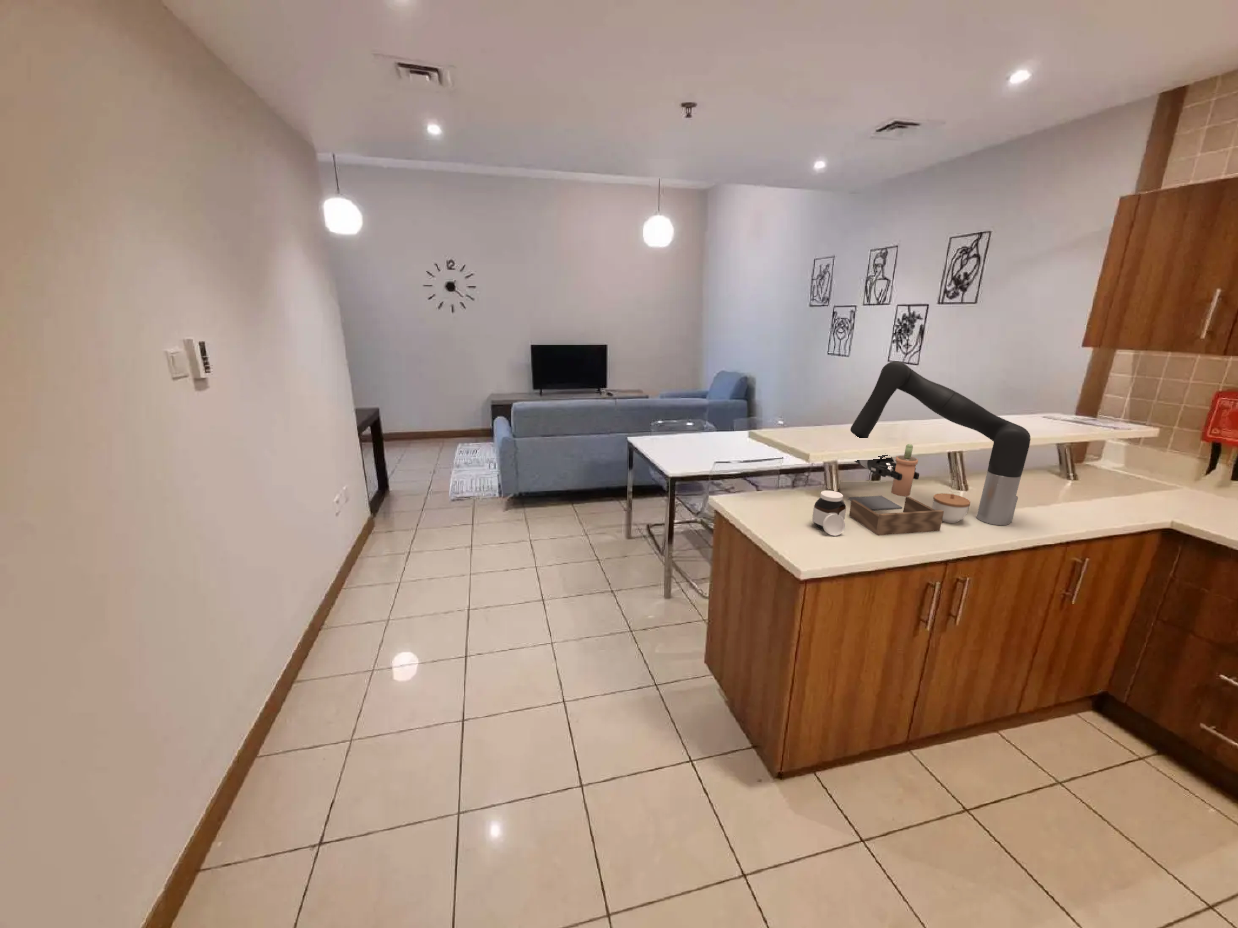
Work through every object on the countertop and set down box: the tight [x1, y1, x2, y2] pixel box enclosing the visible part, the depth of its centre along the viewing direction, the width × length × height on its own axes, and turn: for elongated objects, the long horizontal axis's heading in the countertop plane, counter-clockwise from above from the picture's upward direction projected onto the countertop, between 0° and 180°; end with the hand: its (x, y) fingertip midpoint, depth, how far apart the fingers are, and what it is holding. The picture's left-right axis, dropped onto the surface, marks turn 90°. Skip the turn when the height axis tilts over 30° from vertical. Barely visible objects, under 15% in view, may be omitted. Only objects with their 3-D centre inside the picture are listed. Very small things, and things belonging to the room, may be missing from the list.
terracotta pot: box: [890, 443, 919, 497], centre depth 164 cm, size 6×6×17 cm
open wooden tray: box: [848, 496, 944, 536], centre depth 170 cm, size 22×16×7 cm
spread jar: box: [811, 490, 847, 537], centre depth 165 cm, size 12×11×12 cm
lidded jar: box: [931, 492, 971, 524], centre depth 173 cm, size 11×11×9 cm
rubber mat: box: [847, 495, 903, 512], centre depth 187 cm, size 14×12×1 cm
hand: (909, 477), depth 163 cm, fingers closed on terracotta pot, 5 cm apart
